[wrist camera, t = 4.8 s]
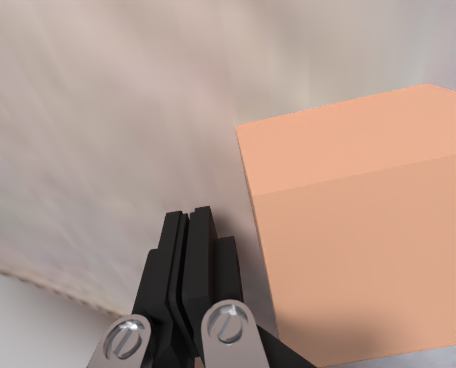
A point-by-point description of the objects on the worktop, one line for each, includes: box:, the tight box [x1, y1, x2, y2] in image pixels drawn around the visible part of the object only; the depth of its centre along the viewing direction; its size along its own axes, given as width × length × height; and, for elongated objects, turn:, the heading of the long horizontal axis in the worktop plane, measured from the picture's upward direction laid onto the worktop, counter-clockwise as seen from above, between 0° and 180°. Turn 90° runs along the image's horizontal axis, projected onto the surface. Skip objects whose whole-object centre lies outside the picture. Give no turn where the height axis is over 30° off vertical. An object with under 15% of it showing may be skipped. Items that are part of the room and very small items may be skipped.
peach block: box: [235, 83, 456, 368], centre depth 10 cm, size 7×8×5 cm
